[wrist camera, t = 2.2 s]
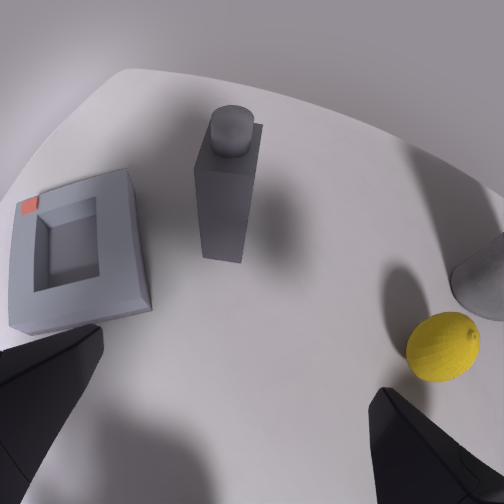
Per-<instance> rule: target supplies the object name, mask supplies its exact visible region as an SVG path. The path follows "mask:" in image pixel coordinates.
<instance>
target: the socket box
mask: <svg viewBox="0 0 504 504" xmlns="http://www.w3.org/2000/svg"><path fill="white" fill-rule="evenodd" d="M8 310H9V326H10V327H12V328H14V329H16V330H19V331H21V332H23V333H26V334H28V335H31V336H33V335H38V334H43V333H49V332H54V331H59V330H64V329H69V328H74V327H79V326H84V325H87V324H93V323H98V322H103V321H108V320H112V319H117V318H122V317H126V316H131V315H135V314H140V313H144V312H148V311H152V307H151V302H150V297H149V292H148V286H147V280H146V274H145V268H144V262H143V256H142V249H141V242H140V234H139V227H138V218H137V209H136V200H135V191H134V188H133V186H132V183H131V180H130V177H129V174H128V171H127V168H126V169H122V170H118V171H114V172H110V173H107V174H103V175H100V176H96V177H93V178H89V179H86V180H83V181H79V182H76V183H73V184H70V185H67V186H63V187H60V188H57V189H54V190H51V191H48V192H46V193H43V194H40V195H37V196H34V197H32V198H29V199H26V200H23V201H21V202H18V203H17V205H16V211H15V217H14V224H13V232H12V241H11V251H10V265H9V289H8Z"/></svg>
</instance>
